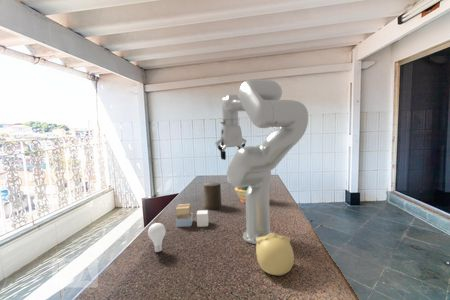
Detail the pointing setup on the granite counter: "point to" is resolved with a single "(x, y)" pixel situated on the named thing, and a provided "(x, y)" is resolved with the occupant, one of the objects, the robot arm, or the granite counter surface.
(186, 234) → the granite counter surface
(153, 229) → the lightbulb
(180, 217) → the tower mid
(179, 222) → the tower base
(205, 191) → the pillar candle
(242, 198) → the potted cactus
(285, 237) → the pale yellow rounded piece
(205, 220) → the white block
